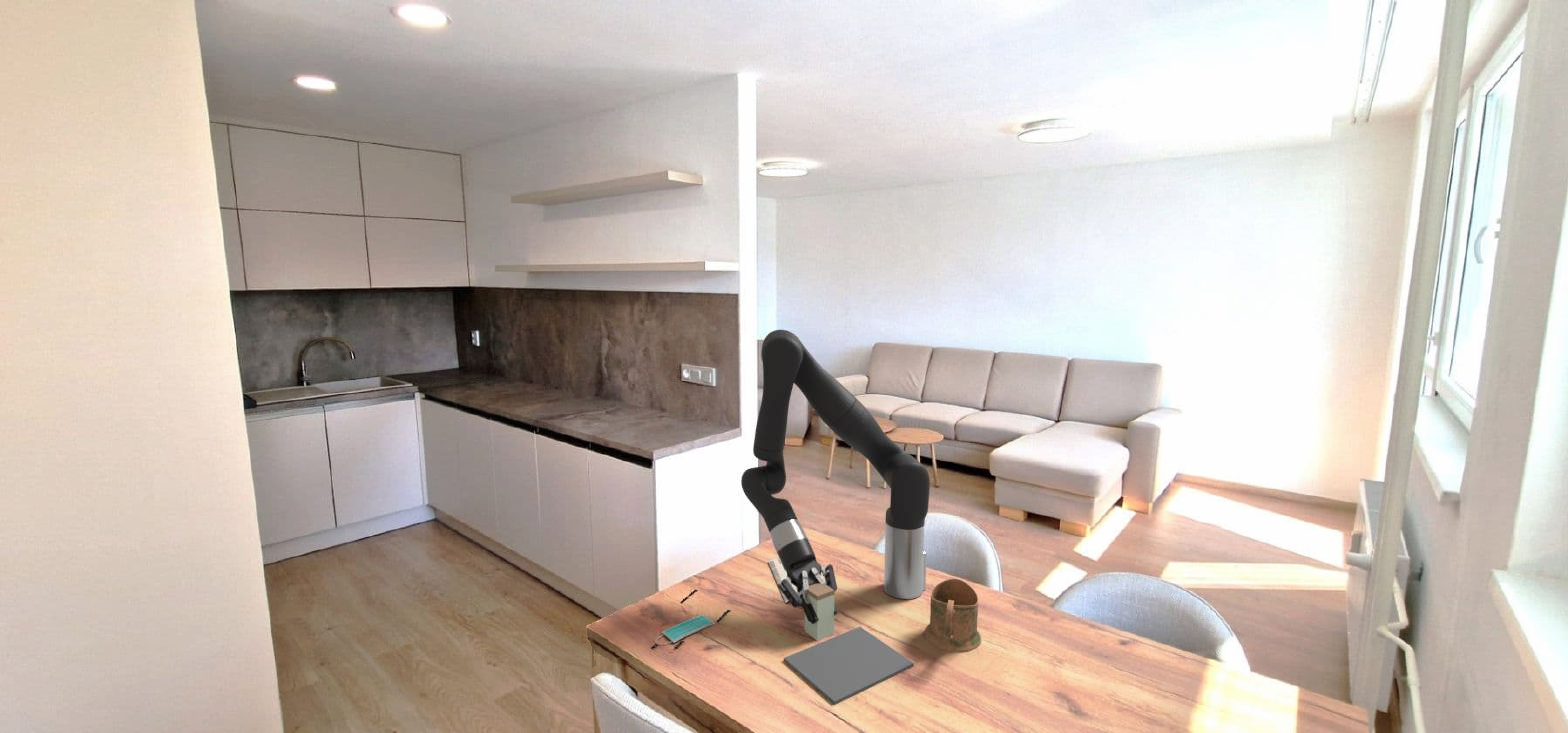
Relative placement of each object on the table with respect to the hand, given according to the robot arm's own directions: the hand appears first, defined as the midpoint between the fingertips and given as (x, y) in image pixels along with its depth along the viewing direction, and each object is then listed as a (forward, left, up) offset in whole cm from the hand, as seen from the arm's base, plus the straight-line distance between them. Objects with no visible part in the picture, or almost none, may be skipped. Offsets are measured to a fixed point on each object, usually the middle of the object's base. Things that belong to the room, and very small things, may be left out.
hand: (824, 618), depth 137 cm
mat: (+2, +10, -4) cm, 11 cm away
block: (0, -2, -4) cm, 5 cm away
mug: (-20, +17, -4) cm, 27 cm away
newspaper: (-11, -24, -5) cm, 27 cm away
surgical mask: (+22, -19, -5) cm, 29 cm away
